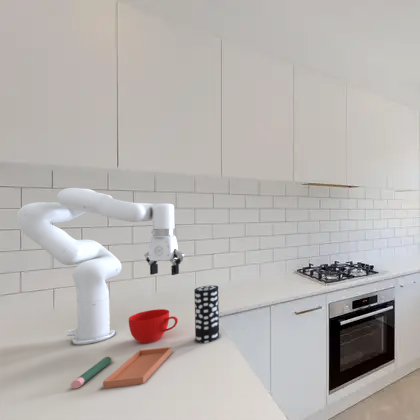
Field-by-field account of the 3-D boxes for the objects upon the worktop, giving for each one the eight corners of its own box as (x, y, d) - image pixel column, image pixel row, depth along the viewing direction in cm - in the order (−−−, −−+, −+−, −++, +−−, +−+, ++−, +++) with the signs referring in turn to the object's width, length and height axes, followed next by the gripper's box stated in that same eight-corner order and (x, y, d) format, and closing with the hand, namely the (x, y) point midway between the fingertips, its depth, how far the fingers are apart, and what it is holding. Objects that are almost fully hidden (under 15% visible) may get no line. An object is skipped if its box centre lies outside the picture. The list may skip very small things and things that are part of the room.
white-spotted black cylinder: (194, 344, 117) (193, 292, 117) (196, 336, 125) (195, 286, 124) (218, 340, 120) (217, 289, 120) (219, 332, 128) (219, 284, 128)
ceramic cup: (167, 346, 116) (167, 319, 116) (120, 348, 115) (119, 321, 115) (186, 332, 129) (185, 308, 129) (144, 333, 128) (143, 309, 128)
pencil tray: (102, 388, 89) (102, 381, 89) (139, 355, 109) (139, 350, 109) (143, 383, 91) (143, 376, 91) (172, 352, 111) (171, 346, 111)
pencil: (80, 388, 89) (81, 380, 89) (70, 388, 89) (71, 380, 89) (114, 361, 105) (114, 354, 105) (105, 361, 105) (106, 354, 105)
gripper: (137, 233, 125) (137, 275, 125) (175, 233, 123) (176, 276, 123) (152, 232, 133) (153, 272, 133) (189, 232, 131) (190, 272, 131)
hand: (164, 274), depth 128 cm, fingers open, 9 cm apart
